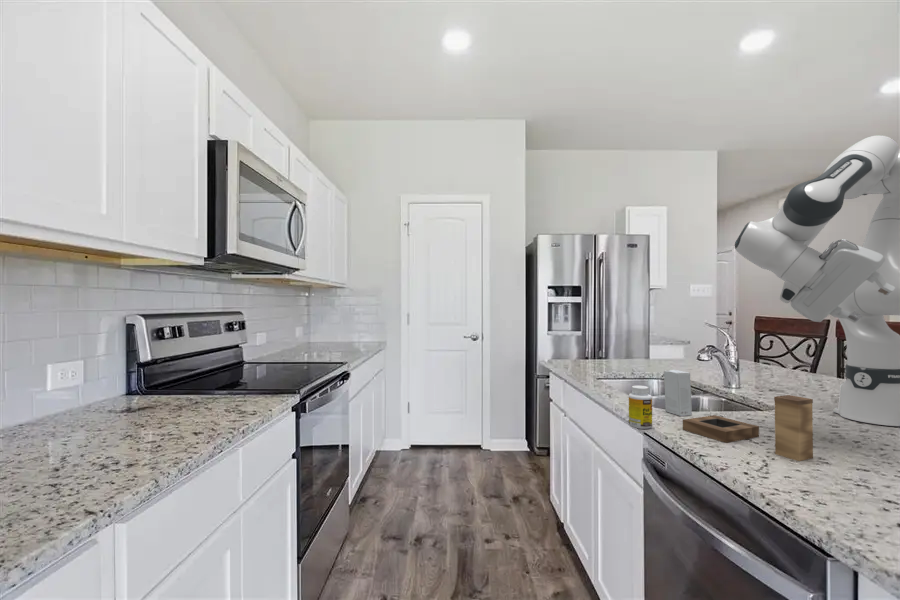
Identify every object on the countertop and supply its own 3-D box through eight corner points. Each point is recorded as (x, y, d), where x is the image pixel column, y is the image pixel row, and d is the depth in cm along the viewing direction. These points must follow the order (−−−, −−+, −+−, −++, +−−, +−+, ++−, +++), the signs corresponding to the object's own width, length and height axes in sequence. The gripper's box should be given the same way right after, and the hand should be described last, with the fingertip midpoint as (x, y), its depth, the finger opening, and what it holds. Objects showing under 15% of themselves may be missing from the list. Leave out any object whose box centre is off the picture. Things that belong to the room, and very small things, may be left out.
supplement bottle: (644, 431, 110) (643, 389, 110) (624, 425, 115) (623, 386, 115) (657, 427, 113) (656, 387, 113) (637, 422, 118) (636, 384, 118)
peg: (788, 451, 94) (788, 394, 95) (813, 458, 90) (812, 399, 90) (774, 454, 93) (774, 396, 93) (799, 461, 88) (798, 401, 89)
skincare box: (692, 415, 124) (692, 372, 124) (678, 416, 123) (678, 373, 124) (676, 410, 130) (676, 369, 130) (663, 411, 129) (663, 369, 130)
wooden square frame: (714, 424, 115) (714, 415, 115) (759, 436, 104) (758, 426, 105) (682, 429, 111) (682, 419, 111) (725, 442, 100) (725, 431, 100)
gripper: (844, 229, 95) (919, 265, 88) (787, 291, 110) (847, 326, 104) (831, 242, 92) (908, 280, 85) (775, 304, 108) (836, 340, 101)
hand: (874, 306), depth 95 cm, fingers open, 8 cm apart
